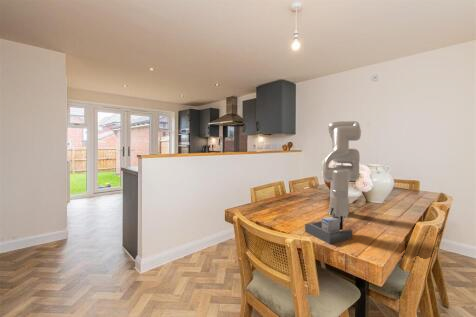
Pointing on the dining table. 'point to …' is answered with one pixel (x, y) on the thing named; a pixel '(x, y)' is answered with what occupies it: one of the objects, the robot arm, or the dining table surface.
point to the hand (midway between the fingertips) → (338, 228)
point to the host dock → (327, 233)
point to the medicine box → (331, 224)
